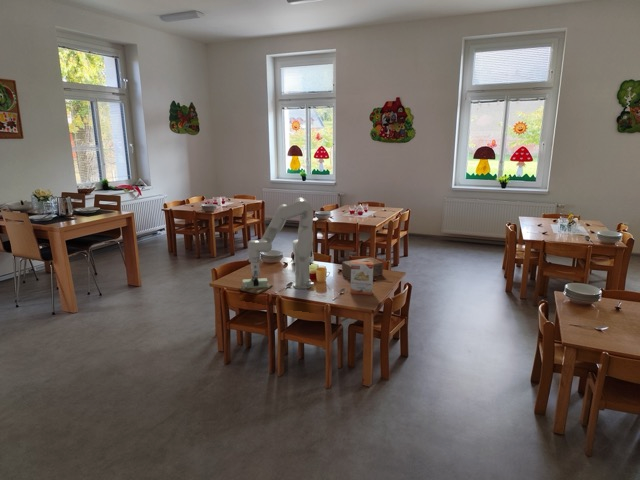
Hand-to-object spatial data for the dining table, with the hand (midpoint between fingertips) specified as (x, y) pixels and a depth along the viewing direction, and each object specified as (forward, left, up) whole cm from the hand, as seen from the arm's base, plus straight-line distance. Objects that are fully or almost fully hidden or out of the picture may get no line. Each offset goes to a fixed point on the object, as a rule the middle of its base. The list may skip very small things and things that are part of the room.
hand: (255, 283), depth 282 cm
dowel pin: (+3, +6, -2) cm, 7 cm away
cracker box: (-65, -27, -3) cm, 70 cm away
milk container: (+1, -62, -4) cm, 62 cm away
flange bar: (0, 0, -2) cm, 2 cm away
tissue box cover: (-51, -60, -4) cm, 79 cm away
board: (0, 0, -3) cm, 3 cm away
